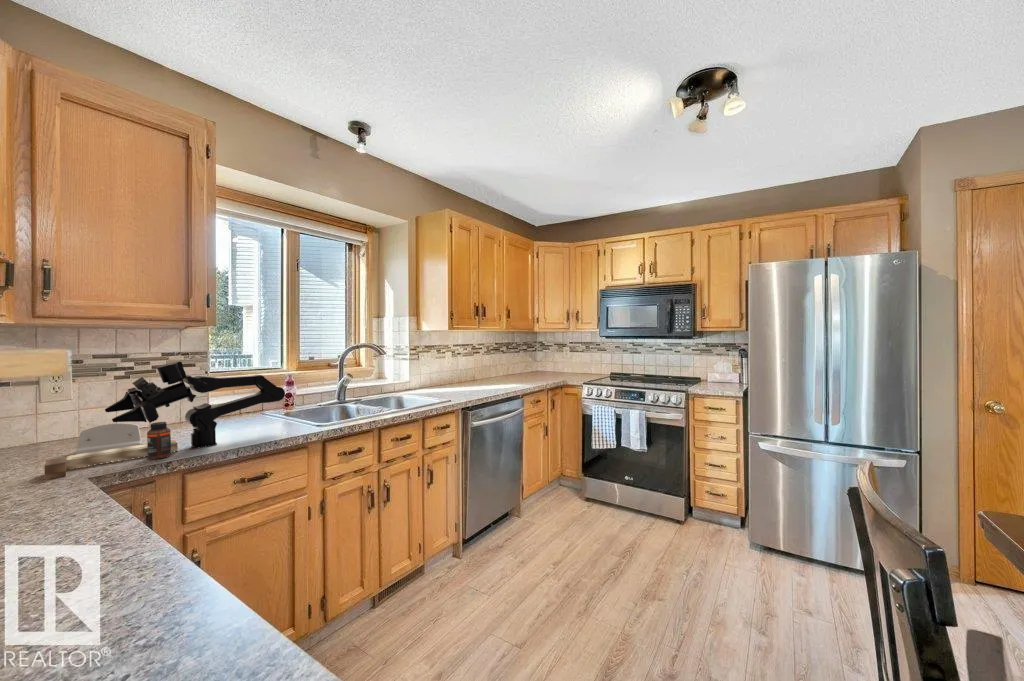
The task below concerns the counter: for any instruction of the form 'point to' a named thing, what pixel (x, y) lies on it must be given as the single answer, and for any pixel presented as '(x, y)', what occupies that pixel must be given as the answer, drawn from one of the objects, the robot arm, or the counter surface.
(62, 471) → the walnut block
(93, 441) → the grey curved bracket
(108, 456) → the maple board
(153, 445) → the supplement bottle
